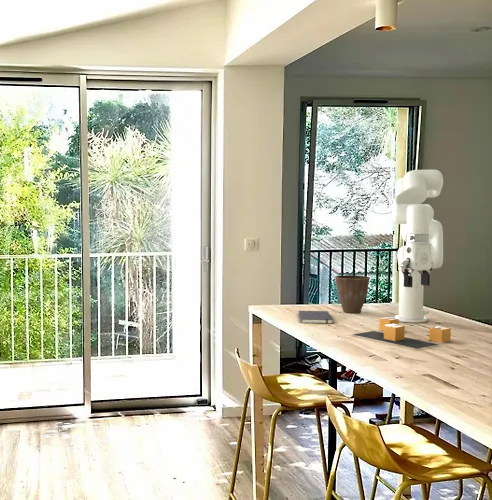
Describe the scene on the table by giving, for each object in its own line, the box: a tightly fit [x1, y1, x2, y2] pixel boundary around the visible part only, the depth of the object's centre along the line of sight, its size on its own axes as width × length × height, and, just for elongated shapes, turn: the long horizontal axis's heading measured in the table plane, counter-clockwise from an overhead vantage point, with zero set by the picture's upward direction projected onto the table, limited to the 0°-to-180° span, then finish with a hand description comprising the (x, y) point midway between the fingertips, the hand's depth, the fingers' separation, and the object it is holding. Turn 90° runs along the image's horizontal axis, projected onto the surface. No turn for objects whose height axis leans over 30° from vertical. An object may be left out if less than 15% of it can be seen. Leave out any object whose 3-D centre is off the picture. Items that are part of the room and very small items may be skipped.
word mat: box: [352, 330, 440, 350], centre depth 234 cm, size 12×28×1 cm, turn 30°
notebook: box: [298, 310, 334, 324], centre depth 279 cm, size 13×2×21 cm
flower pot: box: [334, 274, 370, 314], centre depth 294 cm, size 15×15×16 cm
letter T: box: [378, 316, 400, 332], centre depth 251 cm, size 5×5×5 cm
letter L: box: [428, 325, 452, 344], centre depth 232 cm, size 5×5×5 cm
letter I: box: [383, 324, 406, 341], centre depth 234 cm, size 5×5×5 cm
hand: (416, 286), depth 234 cm, fingers open, 9 cm apart
